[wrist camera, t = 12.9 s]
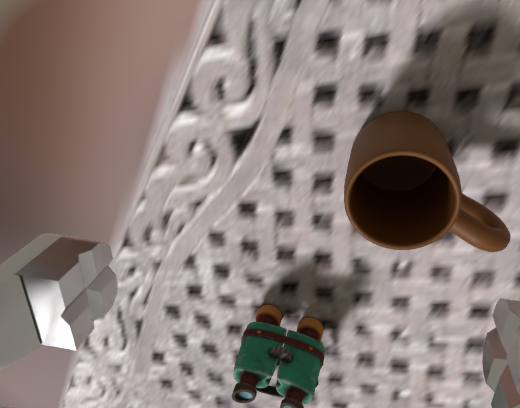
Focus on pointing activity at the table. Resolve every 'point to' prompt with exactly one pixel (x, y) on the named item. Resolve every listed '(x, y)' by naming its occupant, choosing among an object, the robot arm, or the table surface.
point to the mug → (412, 188)
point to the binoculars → (279, 359)
